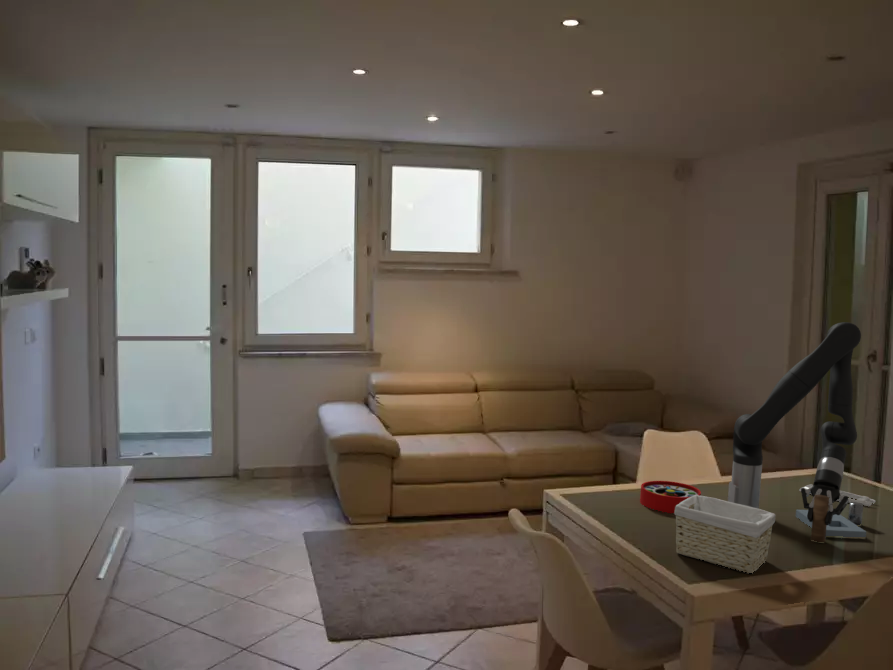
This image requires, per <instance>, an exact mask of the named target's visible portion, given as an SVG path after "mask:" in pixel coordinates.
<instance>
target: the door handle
mask: <svg viewBox="0 0 893 670" xmlns="http://www.w3.org/2000/svg"><path fill="white" fill-rule="evenodd" d="M812 486H813V484H812V483H810V484H807V485H806V484H805V486H802V487H800V488H799V489H798V491H799V492H801V488H805V489H810V488H811V487H812ZM839 492H840V495H842V496H847V497H849V498H848V500H849V503H850V502H858V503H862V504H863V505H864V506H863V507H865V506H868V507H871V506H872V505H874V504H875V503H876V500H875V499H873V498H870V497H869V496H866V495H860V494H859V495H858V494H855V493H853V492H848V491H844V490H840V491H839ZM810 494H811V493H810ZM810 494H809V495H810ZM811 496H812V494H811ZM851 498H853V499H851ZM855 499H857V500H855ZM838 501H839V503H840V499H838V500H836V501H835V502H838ZM872 503H873V504H872Z"/></svg>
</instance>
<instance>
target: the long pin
mask: <svg viewBox="0 0 893 670" xmlns="http://www.w3.org/2000/svg"><path fill="white" fill-rule="evenodd" d="M828 504H829V497H827V496H824V495H815V496H814V507H813V519H812V529H811V534H810V541H811V540H814V541H817V542H825V543H826V539H827V538H826V527H827V525H826V524H825V520H826V516H827V512H828V511H829V508H828Z"/></svg>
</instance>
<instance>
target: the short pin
mask: <svg viewBox="0 0 893 670" xmlns="http://www.w3.org/2000/svg"><path fill="white" fill-rule="evenodd" d="M848 505H849V506H848V517H847V519H848V520H849V521H851V522H852V523H854V524H855V525H860V524H863V512H864V506H863V504H862V503H858V502H850V504H848Z"/></svg>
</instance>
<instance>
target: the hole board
mask: <svg viewBox="0 0 893 670" xmlns="http://www.w3.org/2000/svg"><path fill="white" fill-rule="evenodd" d="M807 514H808V509H796V510H795V518H796V519H798V518H799V519H800V520H799V519H798V520H799V521H801V522H802V523H803V522H804V523H803V524H805V525H806V524H807V525H808V526H807V525H806V526H807V527H809V526H810V527H811V528H812V522H809V520H808V518H807ZM810 527H809V528H810ZM811 528H810V529H811ZM826 536H843V537H866V538H867V531H866V530H864V529H863V528H861V526H859V527H858V526H857V525H855V524H854V523H852V522H851V521H849V520H848V518H846V517H844V516H843V515H842V514H840V515H837V514H835V515H833V517H832V522H831V524H828V525H827V527H826Z"/></svg>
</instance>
